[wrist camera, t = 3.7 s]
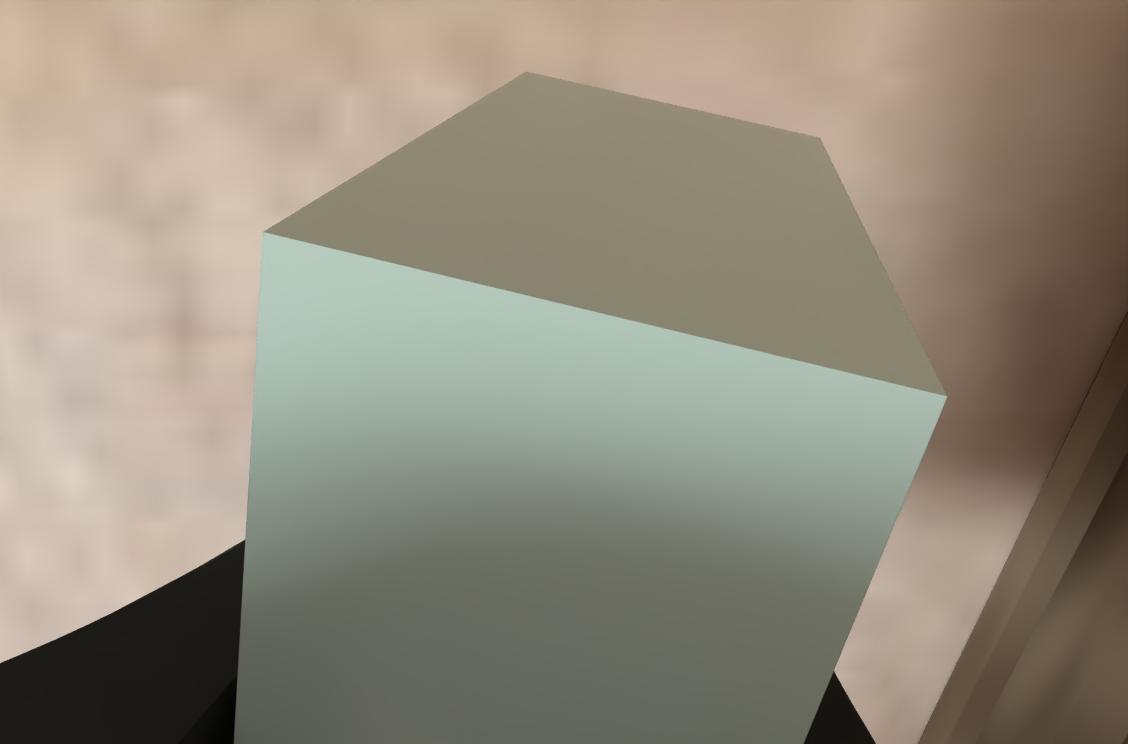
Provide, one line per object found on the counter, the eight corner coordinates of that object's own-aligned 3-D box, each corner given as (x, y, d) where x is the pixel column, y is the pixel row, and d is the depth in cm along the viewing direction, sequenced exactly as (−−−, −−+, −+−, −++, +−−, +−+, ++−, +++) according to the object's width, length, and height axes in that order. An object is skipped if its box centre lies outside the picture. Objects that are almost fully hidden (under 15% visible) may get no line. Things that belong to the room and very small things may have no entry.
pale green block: (622, 777, 13) (550, 1353, 8) (416, 721, 13) (204, 1246, 8) (820, 137, 9) (948, 396, 4) (526, 72, 10) (263, 231, 4)
